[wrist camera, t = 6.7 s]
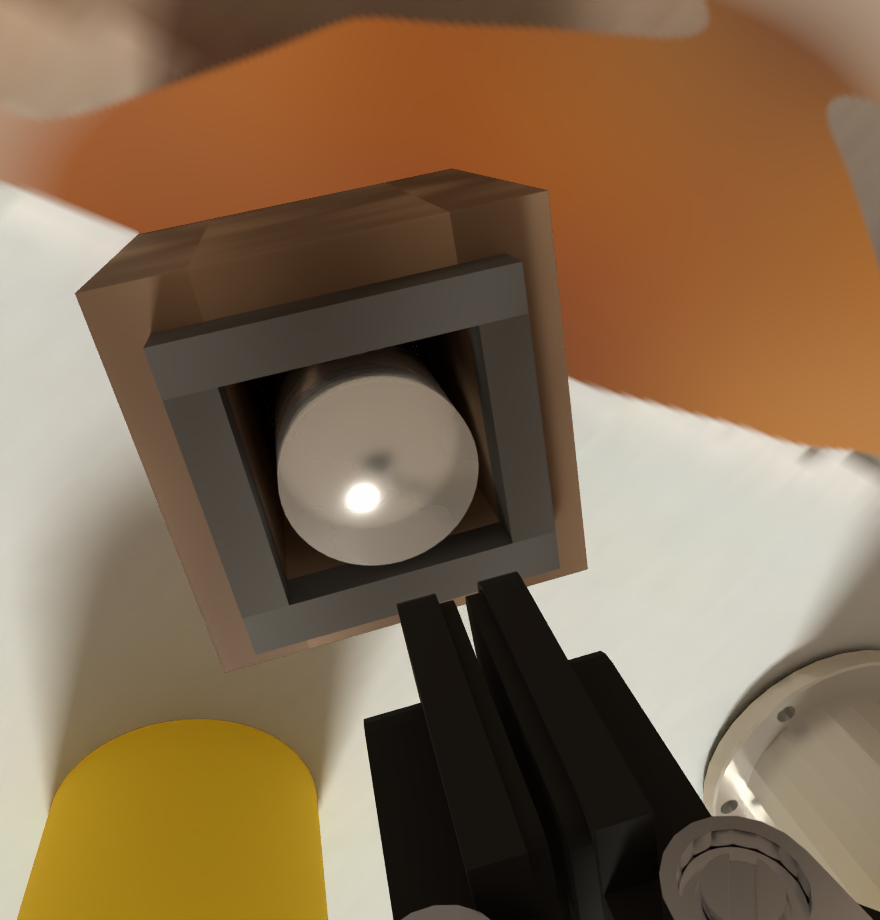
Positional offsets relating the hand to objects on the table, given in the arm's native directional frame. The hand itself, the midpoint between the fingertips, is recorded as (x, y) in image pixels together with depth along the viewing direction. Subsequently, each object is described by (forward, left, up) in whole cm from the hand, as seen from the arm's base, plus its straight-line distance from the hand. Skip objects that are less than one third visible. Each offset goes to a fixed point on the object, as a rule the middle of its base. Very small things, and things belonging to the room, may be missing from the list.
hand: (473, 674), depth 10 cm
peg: (0, 0, -13) cm, 14 cm away
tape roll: (+10, +17, -15) cm, 25 cm away
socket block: (0, 0, -15) cm, 15 cm away
